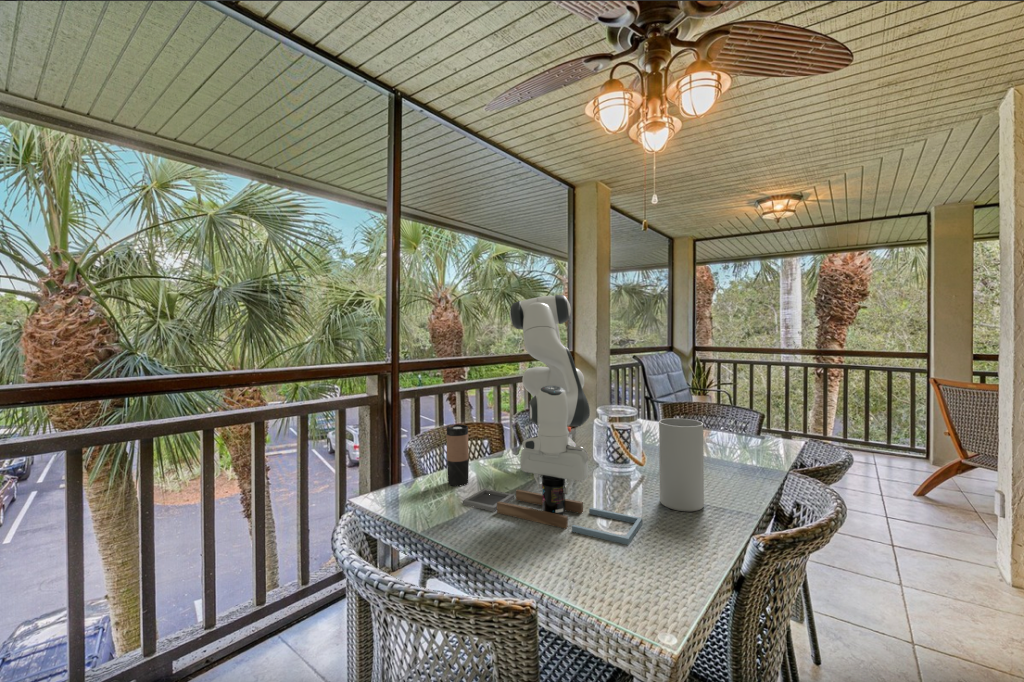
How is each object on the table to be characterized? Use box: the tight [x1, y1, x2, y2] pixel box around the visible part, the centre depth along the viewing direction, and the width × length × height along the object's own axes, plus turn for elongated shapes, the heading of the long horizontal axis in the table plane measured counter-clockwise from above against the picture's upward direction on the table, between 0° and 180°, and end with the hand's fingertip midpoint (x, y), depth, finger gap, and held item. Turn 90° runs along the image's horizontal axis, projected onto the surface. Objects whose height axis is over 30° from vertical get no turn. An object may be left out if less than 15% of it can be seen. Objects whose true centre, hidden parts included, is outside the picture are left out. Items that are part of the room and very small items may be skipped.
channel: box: [496, 489, 584, 530], centre depth 128 cm, size 12×22×3 cm, turn 59°
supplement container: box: [541, 475, 567, 515], centre depth 125 cm, size 7×7×10 cm
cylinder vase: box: [658, 417, 705, 513], centre depth 132 cm, size 12×12×25 cm
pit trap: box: [462, 488, 515, 512], centre depth 137 cm, size 12×12×1 cm
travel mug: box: [446, 424, 470, 487], centre depth 154 cm, size 8×8×20 cm
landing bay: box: [571, 507, 644, 546], centre depth 117 cm, size 14×15×2 cm
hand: (553, 491), depth 125 cm, fingers closed on supplement container, 7 cm apart
